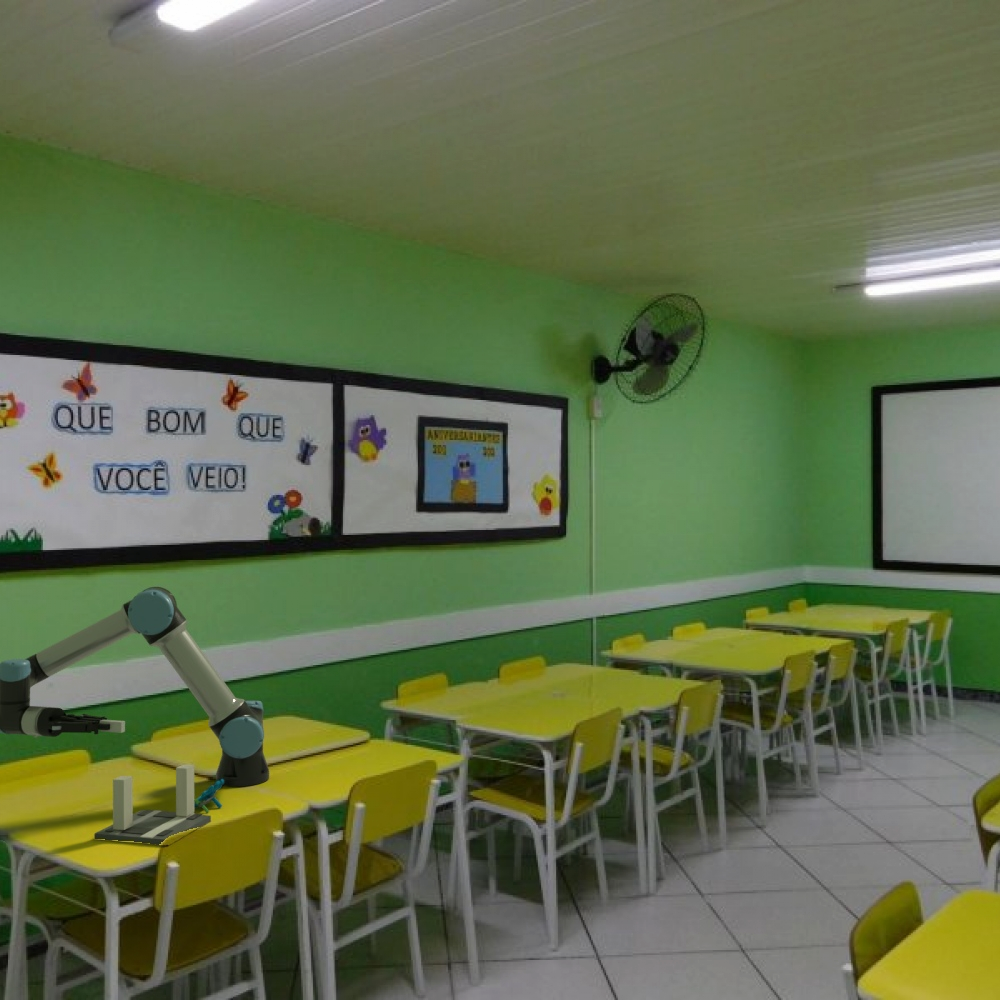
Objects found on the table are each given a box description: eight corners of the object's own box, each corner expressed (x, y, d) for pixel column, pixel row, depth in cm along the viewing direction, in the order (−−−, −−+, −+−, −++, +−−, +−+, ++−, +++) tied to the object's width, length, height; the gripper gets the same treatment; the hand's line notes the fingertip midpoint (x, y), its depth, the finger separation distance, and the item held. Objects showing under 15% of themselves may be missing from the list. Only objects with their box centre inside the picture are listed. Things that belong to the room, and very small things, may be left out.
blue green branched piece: (208, 794, 272) (227, 771, 268) (222, 810, 271) (242, 788, 267) (181, 811, 262) (201, 788, 258) (196, 828, 261) (216, 805, 257)
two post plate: (94, 839, 240) (94, 780, 240) (141, 816, 258) (141, 761, 258) (168, 846, 235) (167, 786, 235) (210, 821, 253) (210, 765, 253)
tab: (113, 829, 241) (112, 779, 241) (121, 824, 244) (121, 775, 245) (123, 830, 240) (123, 780, 240) (132, 825, 244) (132, 776, 244)
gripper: (61, 730, 269) (138, 736, 263) (27, 741, 257) (107, 747, 251) (62, 702, 269) (138, 707, 263) (27, 712, 257) (107, 717, 251)
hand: (123, 726), depth 257 cm, fingers closed
